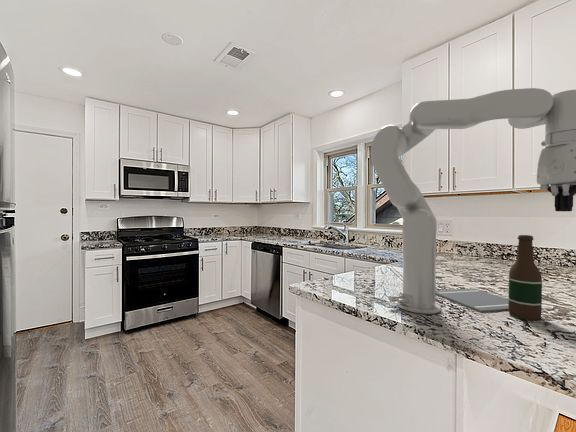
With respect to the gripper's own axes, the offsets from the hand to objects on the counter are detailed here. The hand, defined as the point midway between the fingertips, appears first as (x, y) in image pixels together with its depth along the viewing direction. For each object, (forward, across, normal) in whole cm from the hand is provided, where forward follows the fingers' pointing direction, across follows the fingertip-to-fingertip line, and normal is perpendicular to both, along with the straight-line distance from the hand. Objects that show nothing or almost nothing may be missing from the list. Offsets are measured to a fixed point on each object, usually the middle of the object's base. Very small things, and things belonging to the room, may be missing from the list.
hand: (563, 211), depth 73 cm
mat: (+31, -26, 0) cm, 40 cm away
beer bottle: (+31, -10, 0) cm, 33 cm away
